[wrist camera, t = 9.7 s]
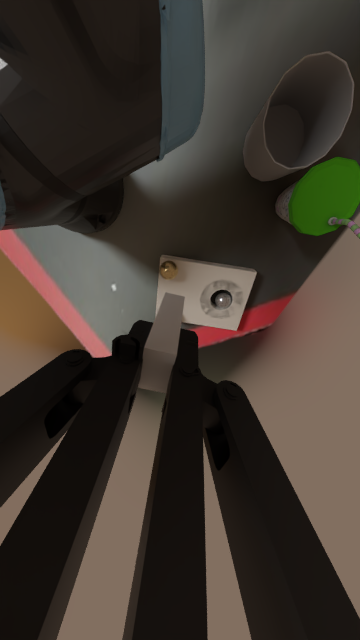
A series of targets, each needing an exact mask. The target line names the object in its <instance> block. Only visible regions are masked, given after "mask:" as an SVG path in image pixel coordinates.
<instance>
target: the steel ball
mask: <svg viewBox="0 0 360 640" xmlns="http://www.w3.org/2000/svg"><path fill="white" fill-rule="evenodd" d="M215 303H216V305H217V306H218V307H220V308H226V307H228V306H229V305H230V303H231V297H230V296H229V295H228V294H227V293H220V294H218V295H217V296H216V298H215Z"/></svg>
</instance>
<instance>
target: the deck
mask: <svg viewBox="0 0 360 640" xmlns="http://www.w3.org/2000/svg"><path fill="white" fill-rule="evenodd" d="M165 261H173V262H174V263H175V264H176V265H177V267H178V274H177V276H176V277H175V278H174V279H172V280H166V279H164V278H162V276H161V275H160V272H159V280H158V292H157V305H156V315H157V313H158V310H159V308H160V305H161V302H162V300H163V297H164V295H165V292H167V293H171V294H176V295H180V296H184V297H185V300H184V307H183V314H182V321H181V322H185V323H191V324H198V325H204V326H210V327H216V328H223V329H229V330H235V331H237V328H238V325H239V323H240V320H241V317H242V314H243V311H244V308H245V305H246V303H247V300H248V297H249V294H250V291H251V288H252V285H253V283H254V280H255V277H256V274H257V272H256V271H255V270H254V269H251V268H245V267H238V266H232V265H226V264H219V263H213V262H207V261H200V260H194V259H188V258H181V257H175V256H169V255H162V256H161V257H160V266H161V264H162V263H163V262H165ZM159 269H160V267H159ZM217 290H227V291H229V292H230V293H231V303H230V305H229V306H228V307H226V308H220V307H218V306H217V305H215V304H214V303H212V302H211V300H210V298H211V296H212V294H213V293H214V292H216V291H217Z"/></svg>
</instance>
